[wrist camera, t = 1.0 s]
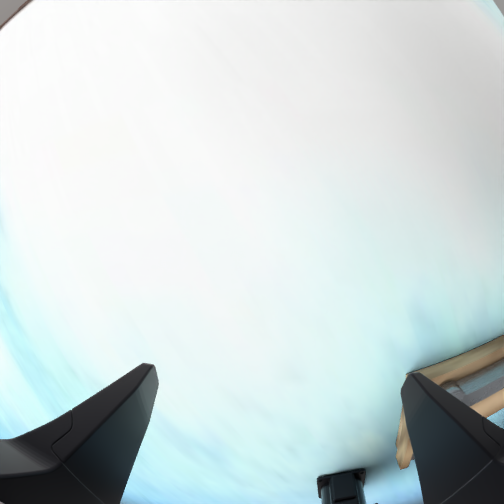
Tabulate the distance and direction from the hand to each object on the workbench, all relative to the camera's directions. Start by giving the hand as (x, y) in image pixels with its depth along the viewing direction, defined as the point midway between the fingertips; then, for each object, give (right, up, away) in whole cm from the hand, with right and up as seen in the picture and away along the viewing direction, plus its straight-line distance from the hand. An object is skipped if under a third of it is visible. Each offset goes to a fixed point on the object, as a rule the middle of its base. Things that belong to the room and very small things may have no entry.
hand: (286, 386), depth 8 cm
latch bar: (+22, -9, +11) cm, 26 cm away
